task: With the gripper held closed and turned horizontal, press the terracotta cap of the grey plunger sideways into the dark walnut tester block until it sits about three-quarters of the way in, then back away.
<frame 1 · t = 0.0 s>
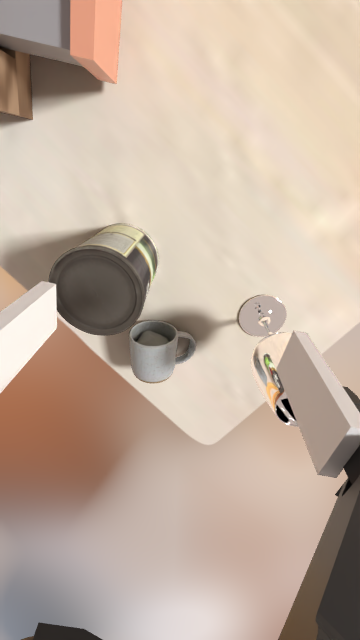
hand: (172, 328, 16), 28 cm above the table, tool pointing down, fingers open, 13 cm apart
wineglass: (262, 315, 46), on the table
coffee can: (125, 257, 43), on the table
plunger: (38, 1, 26), point 6 cm above the table, slide at 0.0 cm
ceramic mug: (164, 338, 50), on the table
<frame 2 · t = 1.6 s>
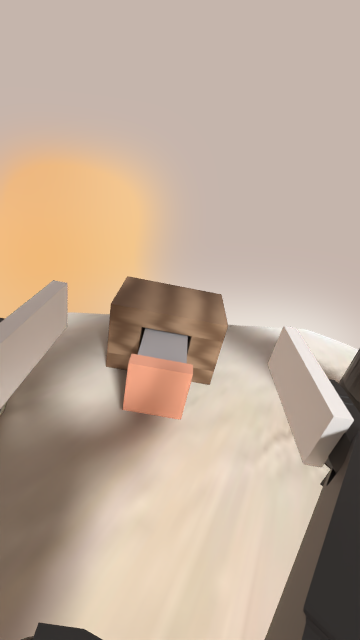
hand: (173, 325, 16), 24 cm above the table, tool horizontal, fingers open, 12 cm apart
tester block: (161, 355, 54), on the table
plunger: (161, 362, 42), point 6 cm above the table, slide at 0.0 cm
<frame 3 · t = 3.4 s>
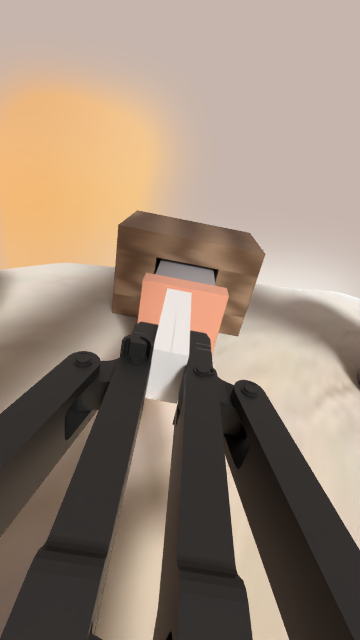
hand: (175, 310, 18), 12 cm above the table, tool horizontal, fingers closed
tester block: (178, 305, 45), on the table
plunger: (181, 298, 34), point 6 cm above the table, slide at 0.0 cm
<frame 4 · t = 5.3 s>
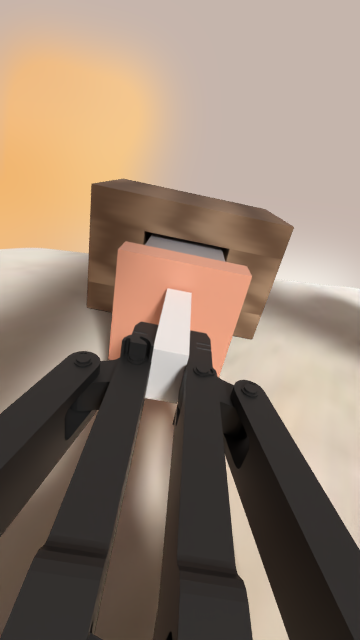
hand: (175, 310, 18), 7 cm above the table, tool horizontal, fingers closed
tester block: (174, 300, 36), on the table
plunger: (179, 285, 24), point 6 cm above the table, slide at 0.2 cm, touching gripper
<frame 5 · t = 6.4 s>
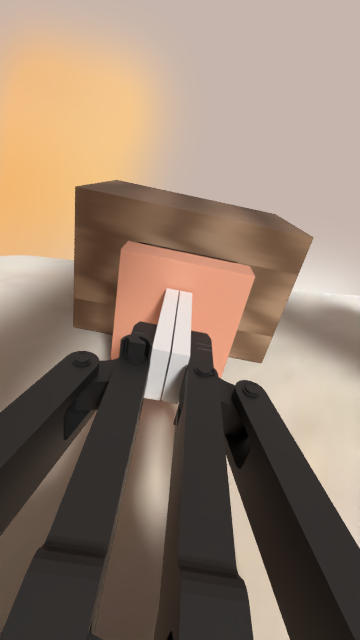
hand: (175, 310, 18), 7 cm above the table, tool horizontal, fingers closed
tester block: (173, 315, 32), on the table
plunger: (181, 285, 24), point 6 cm above the table, slide at 4.4 cm, touching gripper
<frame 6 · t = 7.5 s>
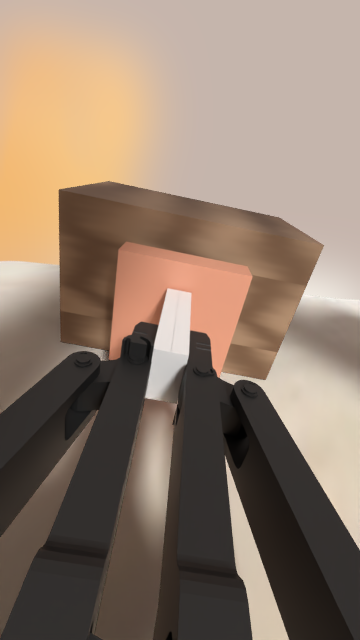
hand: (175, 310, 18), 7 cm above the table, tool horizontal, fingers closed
tester block: (170, 326, 30), on the table
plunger: (179, 285, 24), point 6 cm above the table, slide at 6.8 cm, touching gripper
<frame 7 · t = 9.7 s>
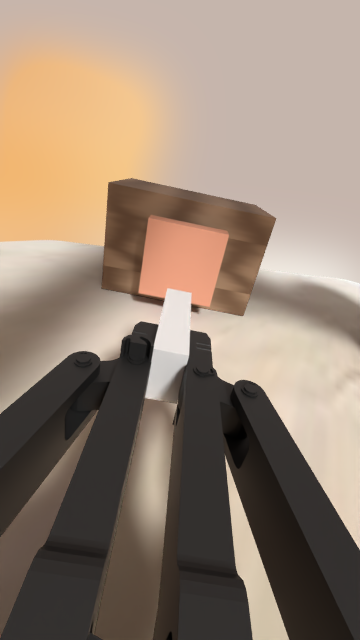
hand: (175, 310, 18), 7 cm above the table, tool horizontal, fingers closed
tester block: (176, 284, 41), on the table
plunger: (183, 249, 35), point 6 cm above the table, slide at 6.8 cm
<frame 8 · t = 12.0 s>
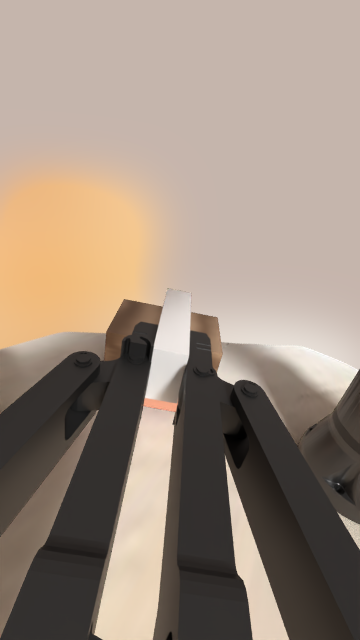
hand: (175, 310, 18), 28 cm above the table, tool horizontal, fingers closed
tester block: (157, 377, 54), on the table
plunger: (160, 362, 49), point 6 cm above the table, slide at 6.8 cm
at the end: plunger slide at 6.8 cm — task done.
